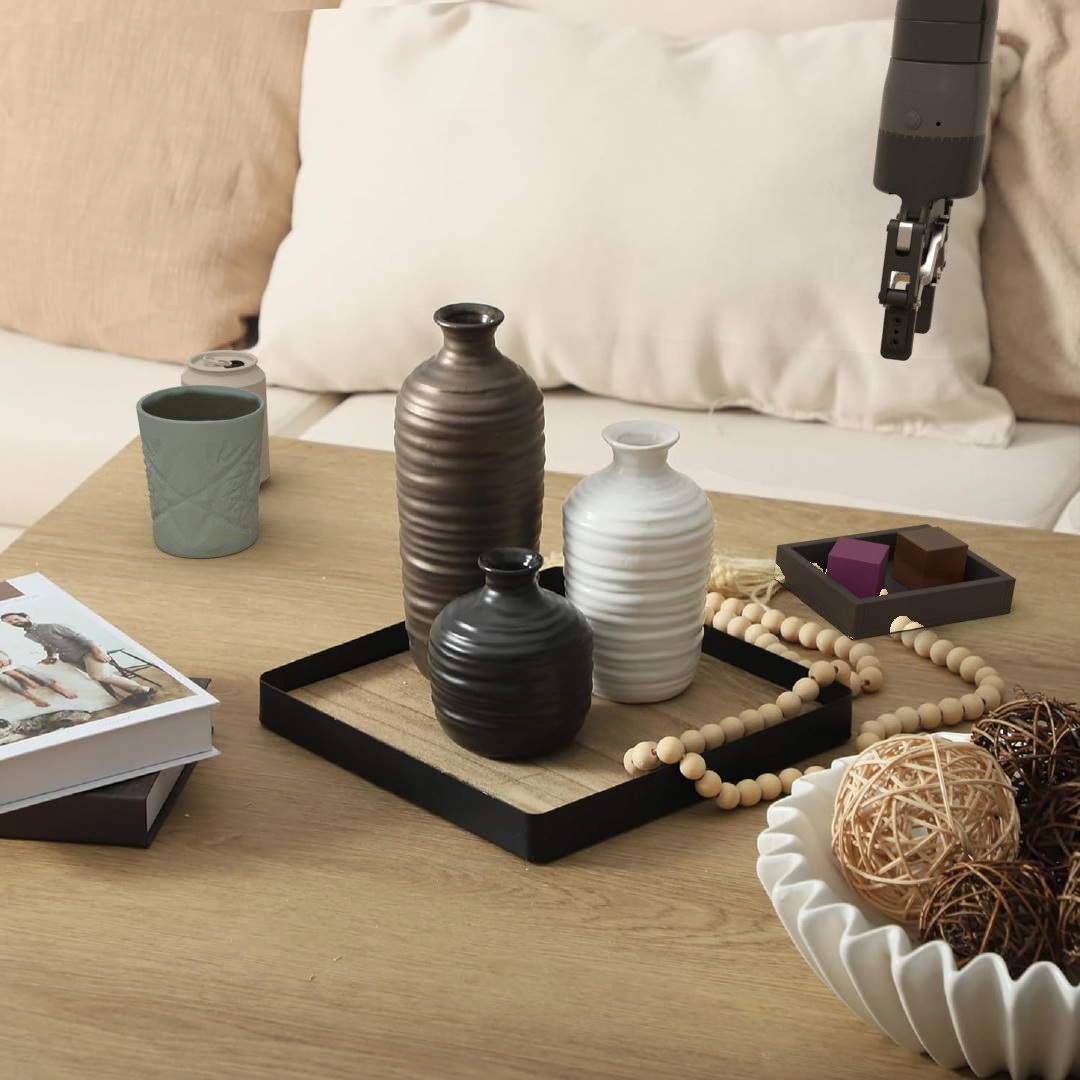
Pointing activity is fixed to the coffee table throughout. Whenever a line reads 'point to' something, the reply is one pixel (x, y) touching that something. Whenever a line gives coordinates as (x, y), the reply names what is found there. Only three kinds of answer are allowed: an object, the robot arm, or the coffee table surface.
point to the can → (232, 383)
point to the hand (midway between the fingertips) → (905, 344)
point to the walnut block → (928, 558)
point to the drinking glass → (202, 467)
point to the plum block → (858, 566)
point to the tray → (891, 589)
